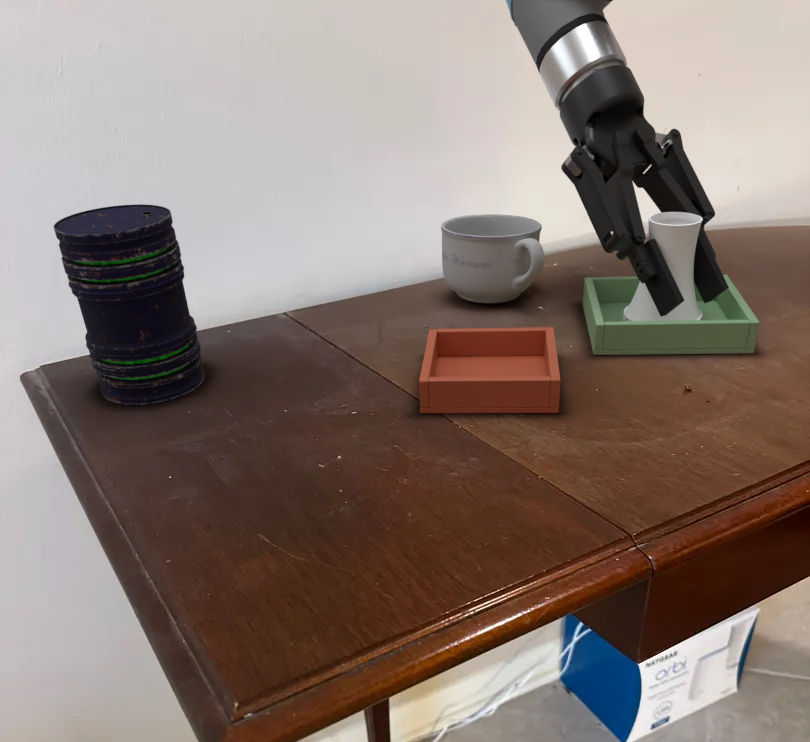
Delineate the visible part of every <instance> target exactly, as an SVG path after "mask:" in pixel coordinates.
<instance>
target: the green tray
mask: <svg viewBox="0 0 810 742" xmlns="http://www.w3.org/2000/svg"><path fill="white" fill-rule="evenodd" d="M723 276H724V278H725V280H726V283H727V285H728V287H729V288H727V289H726V290H725V291H724V292H722V293H721V294H720V295H718V296H717V297H716V298H714V299H713V300H712V301H710V302H707V303H704V301H703V299H702V297H701V295H700V293H699V291H698V289H697V287H696V285H695V283H694V289H695V296H696V301H697V306H698V309H700V310H701V312H702V318H701V320H688V321H623V317H624V309H625V308H626V307H627V306H628V305H630V303H631V301H632V299H633V297H634V295H635V292H636V290H637V288H638V285H639V282H640V280H639V279H638V277H637V275H635V276H633V275H632V276H594V277H593V276H591V277H589V276H588V277H584V279H583V293H582V309H583V313H584V317H585V322H586V327H587V332H588V335H589V341H590V345H591V349H592V354H593V355H594V356H619V355H621V356H625V355H626V356H628V355H630V356H631V355H714V354H715V355H718V354H719V355H720V354H721V355H724V354H754V353H755V349H756V342H757V340H758V339H757V338H758V335H759V334H758V333H759V329H760V325H761V322H760V320H759V319H758V318H757V316H756V314H755V312H753V310H752V309H751V307H750V305H749V304H748V303H747V301H746V300H745V299H744V297H743V296H742V294H741V293H740V292H739V290H738V288H737V287H736V286H735V284H734V282H732V280H731V278H730V277H729V275H728V274H723Z"/></svg>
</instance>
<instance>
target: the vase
mask: <svg viewBox="0 0 810 742" xmlns="http://www.w3.org/2000/svg"><path fill="white" fill-rule="evenodd" d="M702 220H703V218H702V217H701V216H699V215H696V214H692V213H685V212H663V213H661V212H657V213H653V214H651V215H649V216H648V237H647V238H648V239H647V241H648V240H651V239H655V240H656V242H657V244H658V246H659V248H660V250H661V252H662V255H663V257H664V259H665V261H666V263H667V265H668V267H669V269H670V271H671V273H672V275H673V278H674V280H675V282H676V284H677V286H678V288H679V290H680V292H681V294H682V296H683V298H684V300H685V301H683V302H682V303H681V304H680V305H678V306H677V307H676V308H675V309H673V310H672V311H671V312H670V313H668V314H667V315H665V316H660V314H659V312H658V310H657V308H656V306H655V304H654V302H653V299H652V297H651V295H650V293H649V291H648V289H647V287H646V285H645V283H643V284H642V283H641V282H639V285H638V288H637V290H636V292H635V295H634V297H633V299H632V301H631V303H630V305H628V306H627V307H626V308H625V309H624V317H623V321H688V320H701V318H702V312H701V310H700V309H698V306H697V301H696V296H695V289H694V256H695V249H696V243H697V238H698V234H699V230H700V227H701V223H702Z"/></svg>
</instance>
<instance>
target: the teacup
mask: <svg viewBox="0 0 810 742" xmlns="http://www.w3.org/2000/svg"><path fill="white" fill-rule="evenodd" d="M542 229H543V226H542V224H541V223H540V222H539V221H538V220H536V219H533V218H531V217H530V218H529V217H525V216H522V215H521V216H520V215H511V214H497V213H496V214H495V213H493V214H492V213H491V214H490V213H489V214H487V213H486V214H471V215H470V214H469V215H463V216H456V217H453V218H449V219H447V220H444V221H442V222H441V225H440V230H441V263H442V264H441V265H442V266H441V267H442V275H443V278H444V281H445V283H446V284H447V286H448V287H449V288H450V289H451V290H453V291H454V292H455V293H456V294H457V296H458V297H460V298H461V299H463V300H465V301H468V302H472V303H478V304H479V303H480V304H500V303H507V302H510V301H513V300H515V299H516V298H518V297H519V296H520V295H521V294H522V293H523V292H525V291H526V290H527V289H528V288H529V287H530V286H531V285H532V283H533V282H534V281H535V280H536V279H537V278H538V277H539V276H540V275H541V273H542V272H543V270H544V266H545V251H544V248H543V246H542V244H541V242H540V240H541V239H540V237H541V231H542Z"/></svg>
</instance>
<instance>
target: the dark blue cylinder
mask: <svg viewBox="0 0 810 742" xmlns="http://www.w3.org/2000/svg"><path fill="white" fill-rule="evenodd" d="M53 231H54V233H55V237H56V239H57V240H58V241H59V242H58V243H59V244H58V247H59V251H60V255H61V262H62V266H63V269H64V273H65V274H66V275H67V276H66V277H67V279H68V282H67V283H68V287H69V288H70V289H71V290H70V291H71V294H73V296H75V297H76V299H77V303H78V306H79V308H80V312H81V317H82V319H83V322H84V326H85V329H86V333H85V336H84V338H85V342H86V343H85V347H86V348H87V350H88V353H89V358H90V362H91V364H92V365H91V366H92V368H93V370H94V371H95V373H96V376H97V379H98V380H99V382H100V390H101V394H102V396H103V397H104V398H105V399H106V400H108V401H109V402H112V403H115V404H119V405H127V406H143V405H152V404H159V403H165V402H168V401H171V400H175V399H177V398H180V397H183V396H185V395H187V394H189V393H191V392H193V391H195V390H196V389H198V388H199V387H200V386H201V385H202V384H203V382H204V381H205V378H206V375H205V374H206V373H205V368H204V366H203V365H202V355H201V354H202V353H201V350H202V349H201V343H200V339H199V336H198V332H197V330H198V326H197V324H196V322H195V319H194V317H193V316H192V315H191V314H190V309H189V305H188V304H189V303H188V300H187V296H186V290H185V286H184V279H185V271H184V270H185V266H184V265H183V262H182V258H181V257H182V252H181V248H180V243H179V241H178V240H177V235H176V231H175V228H174V227H173V217H172V213H171V210H170V209H169V208H167V207H166V206H161V205H157V204H156V205H155V204H120V205H111V206H104V207H98V208H93V209H88V210H84V211H79V212H76V213H73V214H71V215H68V216H65V217H63V218H61V219H59V220H57V221H56V222H55V223H54V224H53Z"/></svg>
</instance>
